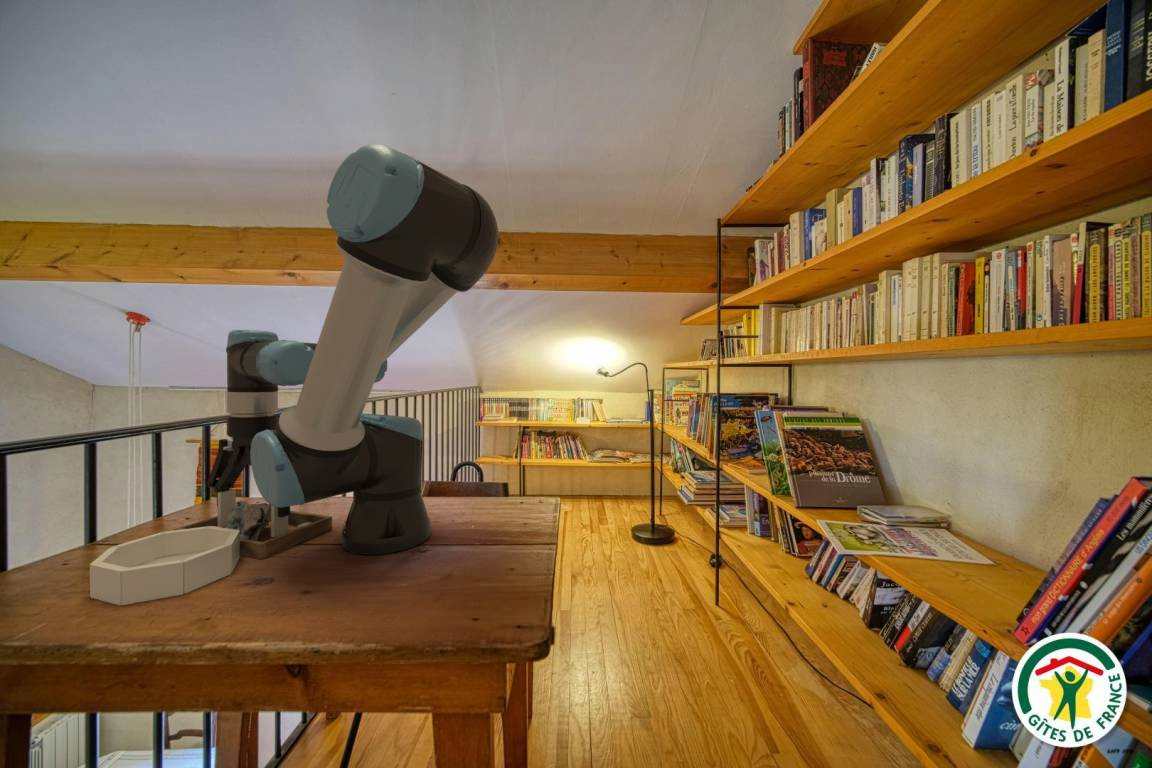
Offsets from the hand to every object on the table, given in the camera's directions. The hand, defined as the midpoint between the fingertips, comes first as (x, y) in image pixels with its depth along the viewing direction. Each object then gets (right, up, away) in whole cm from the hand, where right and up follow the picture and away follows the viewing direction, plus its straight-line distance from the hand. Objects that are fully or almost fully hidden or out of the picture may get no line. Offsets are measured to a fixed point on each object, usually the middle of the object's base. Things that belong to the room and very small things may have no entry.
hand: (252, 529), depth 79 cm
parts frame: (+1, -1, 0) cm, 2 cm away
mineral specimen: (+1, -1, -1) cm, 2 cm away
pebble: (+9, -1, +2) cm, 9 cm away
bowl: (0, -2, -16) cm, 16 cm away
